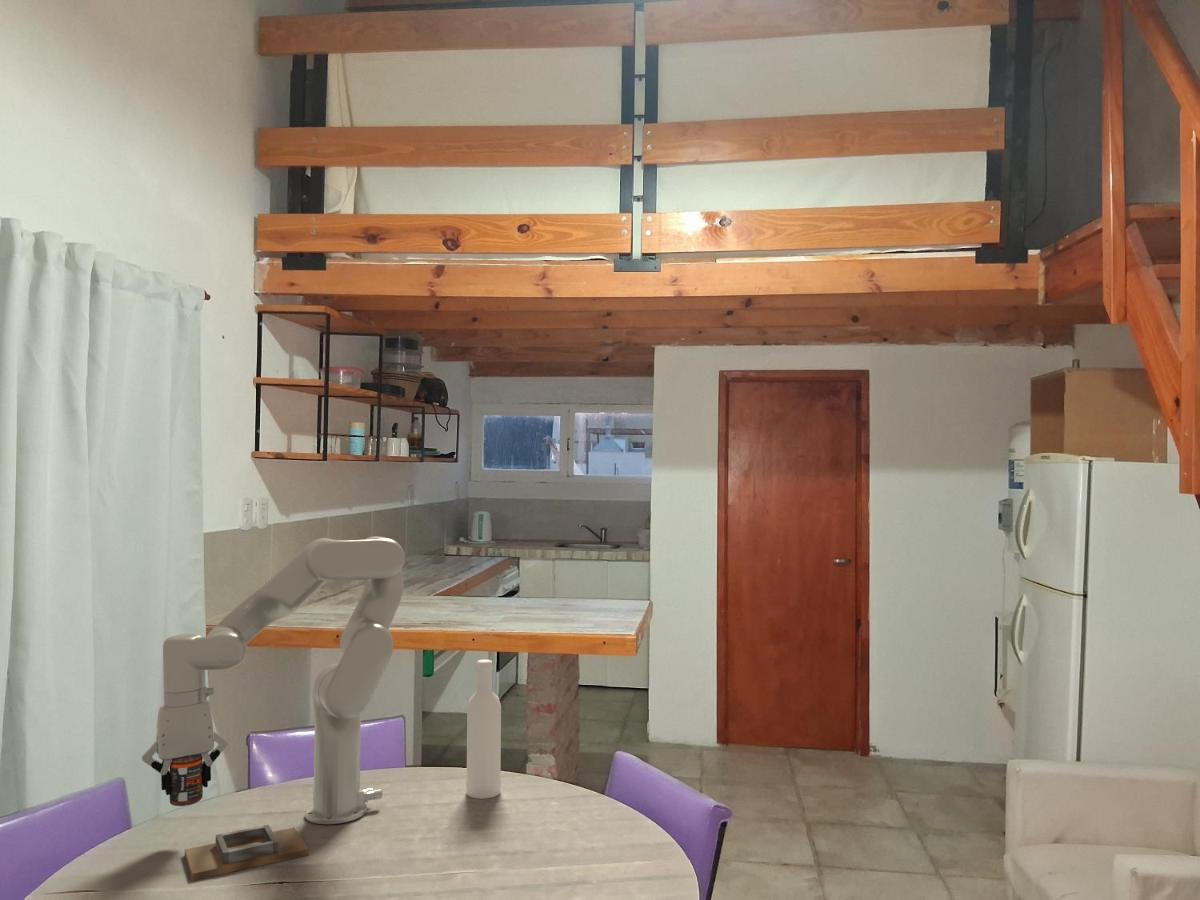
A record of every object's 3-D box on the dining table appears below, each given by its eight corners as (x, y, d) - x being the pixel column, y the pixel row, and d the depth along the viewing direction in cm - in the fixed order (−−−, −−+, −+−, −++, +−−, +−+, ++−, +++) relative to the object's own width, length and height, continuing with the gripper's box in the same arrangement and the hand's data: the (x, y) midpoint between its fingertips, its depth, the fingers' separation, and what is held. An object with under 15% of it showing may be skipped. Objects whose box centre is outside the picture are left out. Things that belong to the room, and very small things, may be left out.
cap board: (294, 833, 171) (294, 817, 171) (308, 855, 161) (308, 837, 161) (184, 855, 160) (184, 838, 161) (192, 880, 150) (192, 862, 150)
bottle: (508, 793, 194) (508, 660, 196) (480, 802, 188) (482, 665, 190) (486, 784, 200) (487, 656, 201) (459, 793, 194) (460, 660, 195)
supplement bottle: (189, 808, 165) (188, 749, 165) (162, 806, 166) (162, 748, 166) (209, 796, 170) (208, 739, 171) (183, 795, 172) (182, 739, 172)
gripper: (228, 687, 176) (230, 774, 176) (134, 701, 167) (135, 793, 167) (234, 694, 170) (236, 785, 170) (136, 709, 161) (138, 805, 160)
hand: (186, 788), depth 168 cm, fingers closed on supplement bottle, 6 cm apart
